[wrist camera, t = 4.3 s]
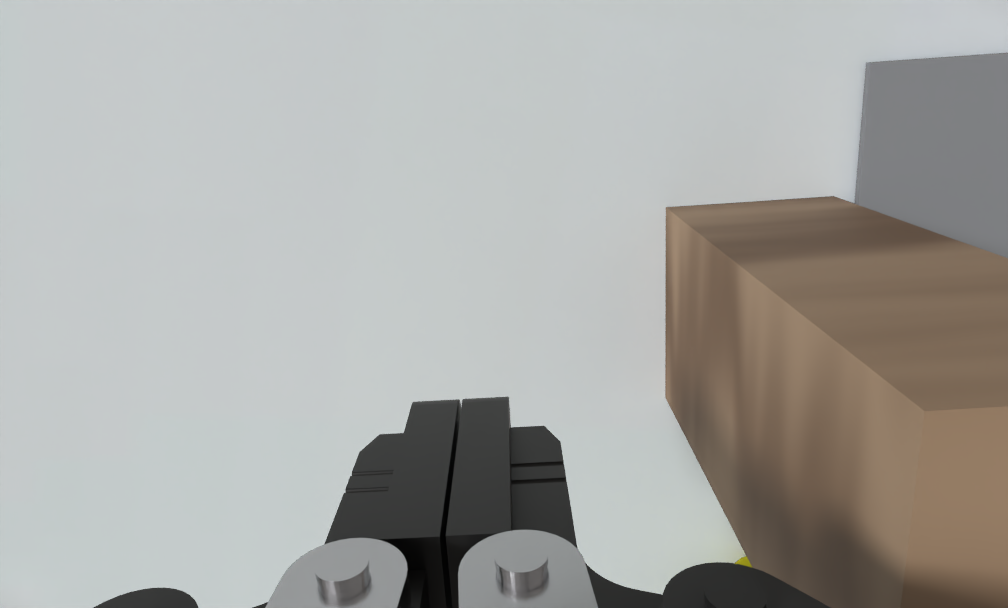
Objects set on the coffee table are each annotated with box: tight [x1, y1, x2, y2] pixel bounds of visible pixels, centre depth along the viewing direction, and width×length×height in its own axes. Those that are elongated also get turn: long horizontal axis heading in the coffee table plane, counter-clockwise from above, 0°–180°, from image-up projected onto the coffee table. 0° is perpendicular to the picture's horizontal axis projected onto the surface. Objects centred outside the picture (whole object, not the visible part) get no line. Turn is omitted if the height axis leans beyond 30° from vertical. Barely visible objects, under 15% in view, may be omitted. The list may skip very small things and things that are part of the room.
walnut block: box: [666, 196, 1008, 608], centre depth 13 cm, size 5×4×11 cm
